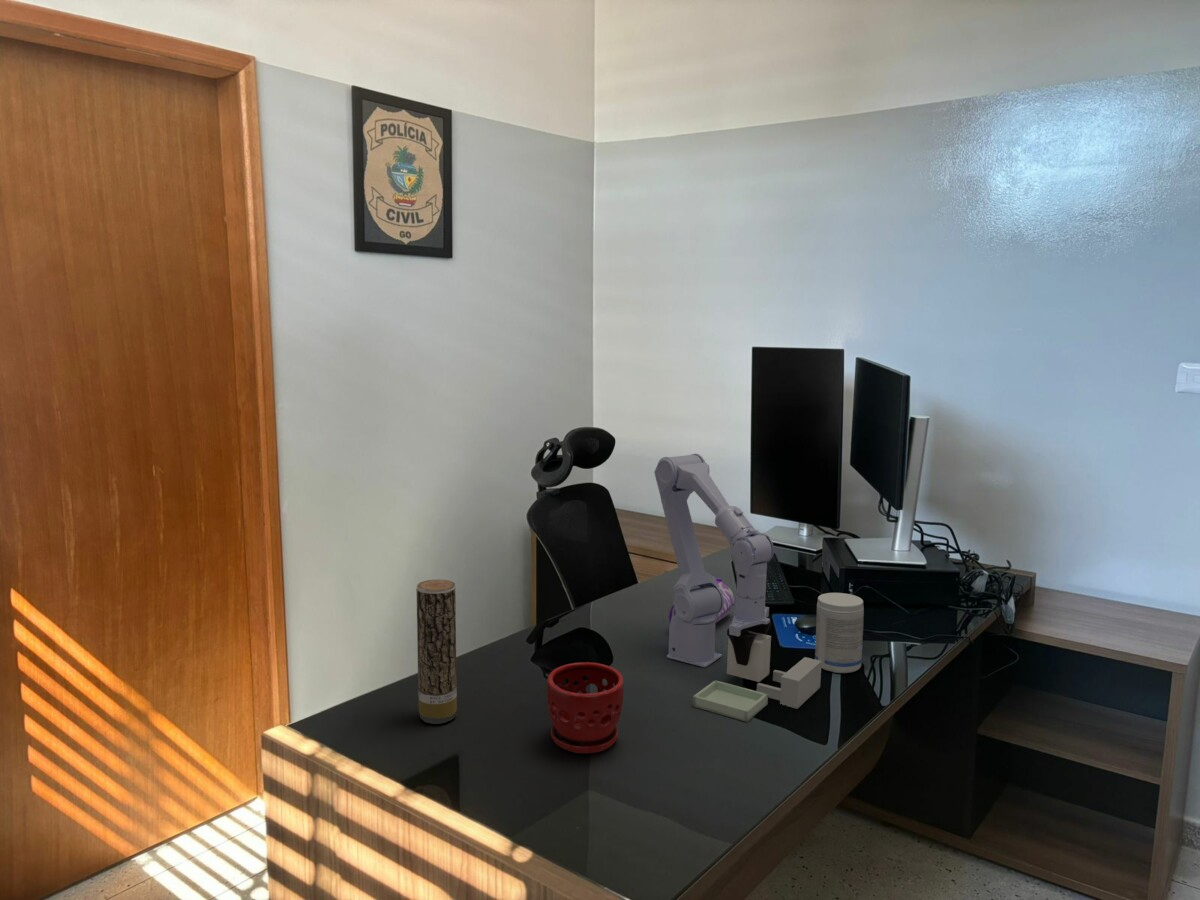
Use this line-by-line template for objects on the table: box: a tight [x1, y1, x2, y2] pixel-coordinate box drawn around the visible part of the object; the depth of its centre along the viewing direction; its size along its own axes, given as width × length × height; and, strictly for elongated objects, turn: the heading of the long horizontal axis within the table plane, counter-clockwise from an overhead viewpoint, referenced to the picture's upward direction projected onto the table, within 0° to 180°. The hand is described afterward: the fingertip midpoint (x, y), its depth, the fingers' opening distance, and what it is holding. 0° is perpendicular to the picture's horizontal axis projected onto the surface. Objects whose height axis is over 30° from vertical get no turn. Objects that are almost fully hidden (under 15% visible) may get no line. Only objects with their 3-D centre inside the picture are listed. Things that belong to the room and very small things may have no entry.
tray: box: [692, 680, 769, 723], centre depth 167 cm, size 11×9×2 cm
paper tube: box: [416, 579, 458, 719], centre depth 158 cm, size 7×7×25 cm
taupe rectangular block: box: [726, 631, 772, 683], centre depth 177 cm, size 8×5×8 cm, turn 56°
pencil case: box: [668, 577, 736, 624], centre depth 209 cm, size 22×9×10 cm, turn 151°
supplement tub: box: [814, 592, 865, 674], centre depth 186 cm, size 10×10×15 cm
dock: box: [756, 656, 822, 710], centre depth 173 cm, size 9×12×6 cm
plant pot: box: [546, 661, 625, 754], centre depth 151 cm, size 13×13×12 cm
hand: (747, 659), depth 177 cm, fingers closed on taupe rectangular block, 5 cm apart
